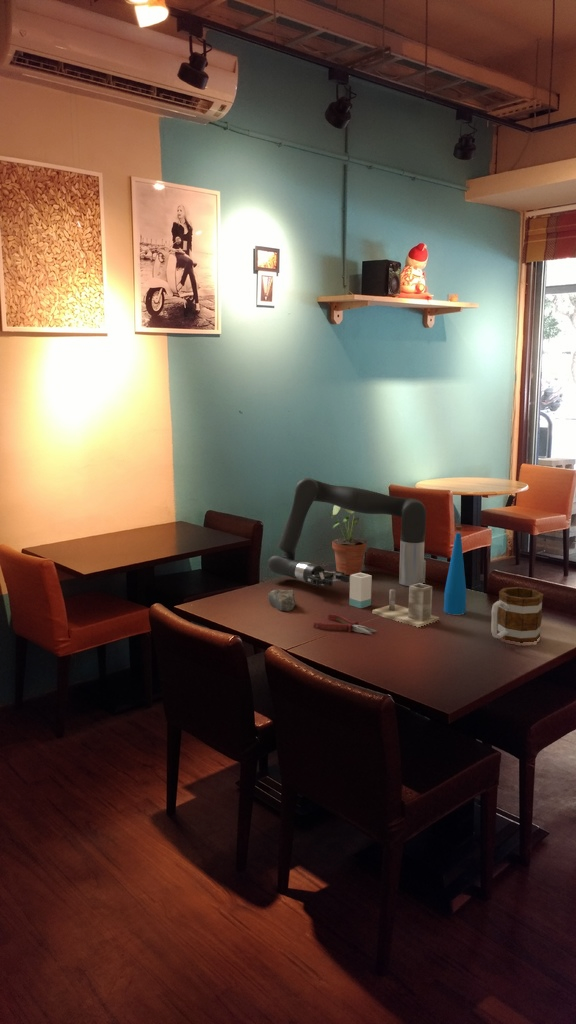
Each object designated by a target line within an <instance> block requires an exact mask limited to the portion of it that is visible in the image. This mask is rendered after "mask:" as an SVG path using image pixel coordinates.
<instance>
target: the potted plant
mask: <svg viewBox="0 0 576 1024" xmlns="http://www.w3.org/2000/svg"><path fill="white" fill-rule="evenodd" d="M341 509H342V510H343V511H345V512H347V513H348V514H349V515H346V516H345V517H343V519H342V523H344V525H345V529H346V531H345V529H344V528H343V527H342V526H341V523H340V522H338V521H339V519H337V520H335V521H334V524H333V526H332V529H333V530H334V529H335V528H336V527H338V528H339V530H340V531H341V532H342V533H341V534H342V535H343V537H339V538H334V539H333V540H331V541H332V542H331V543H332V544H331V545H332V547H331V549H333V551H334V557H335V559H334V560H335V566H336V567H335V568H336V569H335V570H336V571H339V572H343V573H344V575H345V576H350V575H352V574H356V573H362V569H363V563H364V555H365V550H366V549H367V543H368V542H367V540H365V539H362V538H358V537H356V538H355V537H353V536H354V530H355V527H354V526H356V525H357V524H358V522H359V521H360V520H359V519H360V518H359V517H355V514H356V512H354V511H350V510H347V509H344V508H341V507H338V506H336V505H333V509H332V513H331V514H329V515H330V518H331V519H333V518H335V516H336V515H337V514H338V513H339V511H341ZM352 515H353V517H352V523H351V525H350V521H349V520H350V517H351V516H352ZM350 526H351V528H350ZM346 535H347V536H346Z"/></svg>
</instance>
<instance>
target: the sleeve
mask: <svg viewBox="0 0 576 1024" xmlns="http://www.w3.org/2000/svg"><path fill="white" fill-rule="evenodd" d="M372 578H373V577H372V575H370V574H368V573H363V572H361V573H356V574H352V575H349V599H348V600H349V602H348V603H349V604H348V605H349V606H351V607H355V608H359V609H363V608H367V607H370V606H371V604H372Z"/></svg>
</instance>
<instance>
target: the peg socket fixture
mask: <svg viewBox="0 0 576 1024" xmlns="http://www.w3.org/2000/svg"><path fill="white" fill-rule="evenodd" d="M408 590H409V591H408V607H406V606H402V605H399V604H396V589H394V588H393V589H392V588H391V589H389V594H388V595H389V596H388V597H389V598H388V605H385V606H382V607H378V608H375V609H372V612H371V613H372V614H373V615H376V616H379V617H383V618H385V619H388V620H393V621H396V622H398V621H399V622H398V623H401V622H402V623H401V624H404V625H408V624H409V625H408V626H411V625H412V626H411V627H414V626H416V627H415V628H418V627H420V628H422V627H421V626H423V627H425V626H427V625H426V624H428V625H430V624H429V623H431V624H433V623H432V622H434V623H436V622H435V621H437V620H439V621H440V616H437V615H432V608H433V607H432V605H433V586H432V585H429V584H426V583H425V584H421V583H418V584H414V585H411V586H408ZM437 622H438V621H437ZM424 625H425V626H424Z"/></svg>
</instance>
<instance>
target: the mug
mask: <svg viewBox="0 0 576 1024" xmlns="http://www.w3.org/2000/svg"><path fill="white" fill-rule="evenodd" d="M543 599H544V593H542V592H540V591H539V590H537V589H533V588H529V587H521V586H514V587H513V586H512V587H511V586H510V587H503V588H502V589H500V590H499V591H498V600H497V601H495V602H494V603H493V604H492V606H491V607H492V608H491V623H490V624H491V626H490V628H491V629H490V631H491V635H492V637H493V638H495V639H497V638H498V640H499V639H500V638H503V639H505V640H510V641H515V642H520V643H523V642H534V641H537V639H538V638H539V637H540V638H541V625H542V619H543V615H542V613H543V611H542V610H543V608H542V607H543Z"/></svg>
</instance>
